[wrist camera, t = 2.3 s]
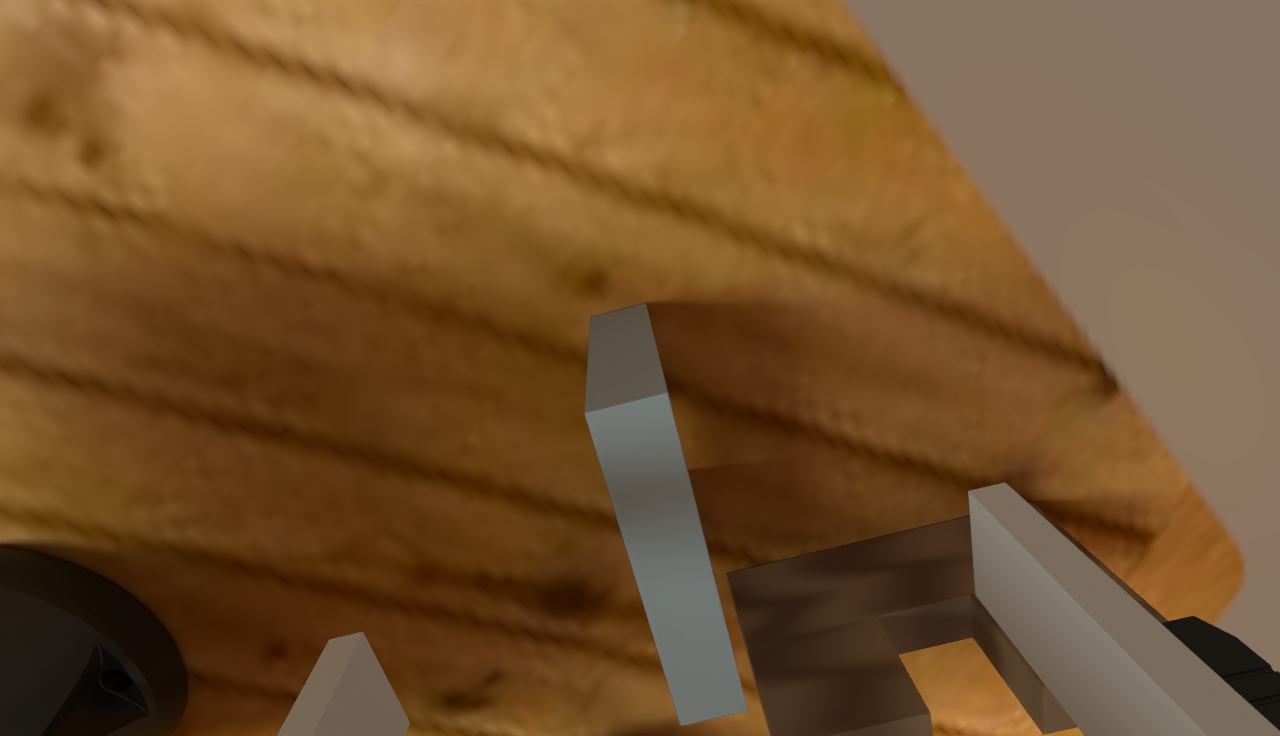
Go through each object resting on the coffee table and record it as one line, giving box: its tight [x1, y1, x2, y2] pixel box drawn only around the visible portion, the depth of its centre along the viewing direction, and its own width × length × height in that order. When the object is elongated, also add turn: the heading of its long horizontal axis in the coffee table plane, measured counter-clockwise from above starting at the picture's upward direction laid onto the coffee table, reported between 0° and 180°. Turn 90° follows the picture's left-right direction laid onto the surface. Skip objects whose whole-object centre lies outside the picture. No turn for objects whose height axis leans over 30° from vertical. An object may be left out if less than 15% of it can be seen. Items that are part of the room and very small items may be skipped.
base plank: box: [727, 501, 1168, 736], centre depth 29 cm, size 16×2×10 cm, turn 104°
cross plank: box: [584, 303, 748, 726], centre depth 26 cm, size 2×13×10 cm, turn 14°
